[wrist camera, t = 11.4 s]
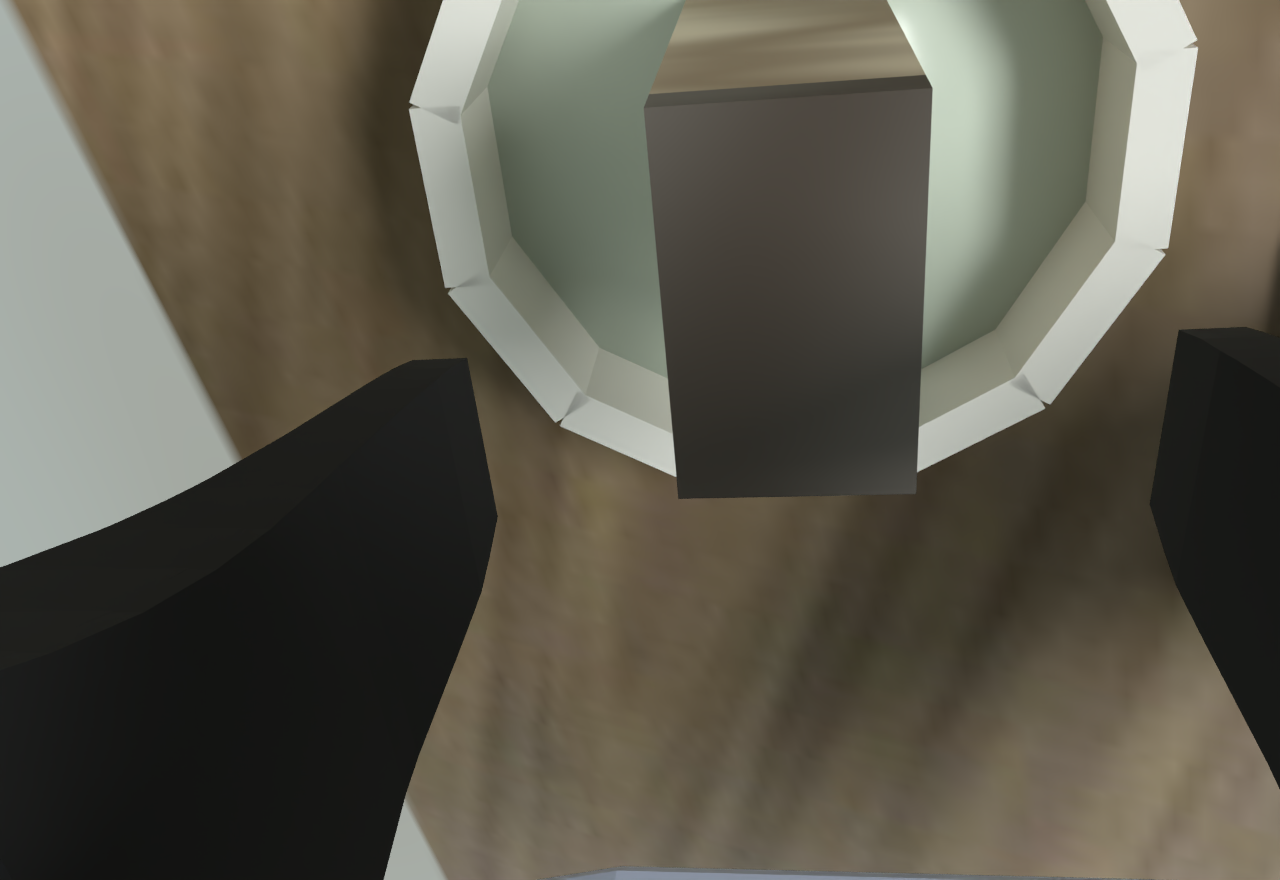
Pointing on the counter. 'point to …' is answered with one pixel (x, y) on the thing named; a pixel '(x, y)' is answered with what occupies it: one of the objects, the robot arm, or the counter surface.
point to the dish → (957, 199)
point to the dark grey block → (791, 246)
